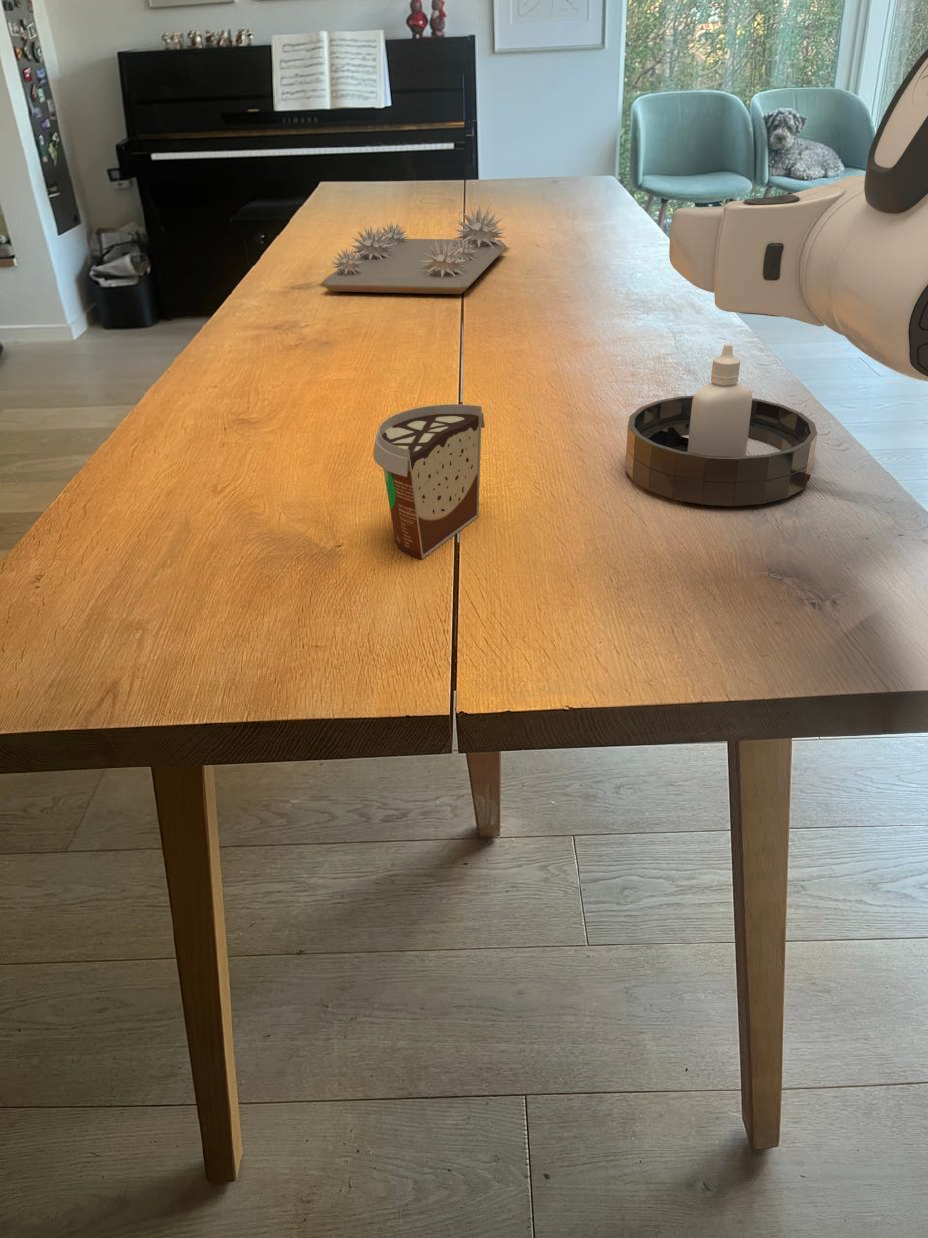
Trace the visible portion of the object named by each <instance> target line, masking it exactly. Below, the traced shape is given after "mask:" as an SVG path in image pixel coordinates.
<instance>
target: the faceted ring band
mask: <svg viewBox="0 0 928 1238" xmlns="http://www.w3.org/2000/svg"><path fill="white" fill-rule="evenodd" d="M693 397H694V395H680V396H674V397H669V398H665V399H660V400H655V401H653V402H650V403H648V404H645V405H642V406H640V407H638V408H637V409H636V410H635V411H634V412H632V414H630V415H629V416H628V422H627V430H626V431H627V433H626V450H625V451H626V452H625V466H624V468H625V469H624V470H625V471H626V473H627V474H628V476H629V477H630V479H631V481H632V482H634V483H636V484H637V485H639V486H640V487H642V488H644V489H645V490H647V491H649V492H651V493H654V494H656V495H659V496H663V497H665V498H669V499H671V500H676V501H681V502H686V503H691V504H692V503H693V504H697V505H704V506H719V507H720V506H721V507H723V506H724V507H739V506H753V505H763V504H764V505H765V504H768V503H773V502H777V501H780V500H785V499H787V498H789V497H791V496H793V495H795V494H797V493H798V492H799V493H800V491H802V490H805V489H804V488H805V487H806V486H807V484H808V482H809V481H810V479H811V478H812V477H811V476H812V475H811V474H810V472H811V471H812V470H813V463H814V458H815V452H816V445H817V439H818V429H817V426H816V424H815V422H814V421H813V420H811V419H810V418H809V417H808V416H806V415H805V414H804V413H803V412H801V411H798V410H796V409H794V408H791V407H789V406H786V405H784V404H780V403H776V402H773V401H770V400H769V401H768V400H765V399H760V398H754V397H752V405H751V415H750V423H749V432H748V439H750V440H753V441H757V442H759V443H760V442H761V443H765V444H767V445H769V446H772V447H773V448H775V449H778V450H779V451H775V452H771V453H767V454H753V455H746V456H739V457H732V456H710V455H702V454H696V453H690V452H687V451H688V440H689V437H684V436H689V430H690V419H691V410H692V401H693Z"/></svg>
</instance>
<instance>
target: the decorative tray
mask: <svg viewBox="0 0 928 1238" xmlns="http://www.w3.org/2000/svg"><path fill="white" fill-rule="evenodd" d="M480 206H481V205H478V210H476V214H475V213H474V211H473V208H470V212H471V216H470V215H469V214H468V213H464V212H462V213H463V215H464V219H465V220H466V222H467V223H466V222H463V221H461V220H458V219H456V221H457V224H459V225H460V226H461V227H462V229H459V228H458V229H455V231H457V232H458V233H457V235H458V236H457V237H454V238H452V239H451V238H409V237H410V236H407V235H406V234H405V233H406V232H407V231H408V230H407V229H405V230H404V229H403V225H402V226H401V227H400V225H399V222H397V223H396V225H395V226H394V225H393V222H391V224H390V225H389V224H386V228H385V227H384V226H381V228H380V226H378V228H377V229H376V230H375V229H373V228H372V226H369V227H370V228H369V229H367V228H366V227H365V226H363V229H364V234H365V235H364V234H362V232H360V231H358V230H356V232H357V233H358V235H359V237H360V239H359V238H356V237H353V236H352V237H351V238H352V239H353V240H354V241H355V242H356V243H358V244H350V245H349V246H350V247H351V248H352V249H351V250H349V251H348V247H345V250H344V249H343V248H341V253H342V255H341V254H340V253H339V252H336V254H337V255H338V257H336V256H334V255H333V256H332V257H333V258H334V259H335V260H336V261H332V262H331V263H332V264H333V265H334V266H333V267H332V269H335V271H334V272H332V273H330V274H329V275H328V276H327V277H326V278H325V279H324V280H323V281H322V282H321V285H322V286H323V287H324V288H325V289H326V290H328V291H329V292H343V293H347V292H349V293H350V292H351V293H389V294H390V293H394V294H396V293H398V294H433V295H434V294H435V295H436V294H437V295H462V294H463V293H464V292H465V291H466V290H467V289H468V288H469V287H470V286H471V285H472V284H473V283H474V282H475V281H476V280H477V279H478V278H479V277H480V276H481V275H482V274H483V273H484V271H485V270H486V269H487V268H488V267H490V265H491V264H493V262H494V261H495V260H496V259H497V258H498V257H499V256H500V255H501V253H502V252H503V251H505V249H506V248H507V245H506V244H505V243H504V242H503V241H502V240H501V239H505V238H506V237H505V236H502V234H504V232H501V231H504V230H505V228H499V226H498V224H499V223H500V222H501V221H502V220H503V218H501V219H498V218H499V216H497V217H496V215H497V211H496V212H495V213H494V214H493V215H492V216H490V211H491V209H490V206H488V207H487V209H486V211H485V212H484V215H483V213H482V212H483V211H481V207H480ZM489 216H490V218H489ZM497 219H498V220H497ZM382 230H383V232H382Z"/></svg>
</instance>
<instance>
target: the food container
mask: <svg viewBox="0 0 928 1238" xmlns="http://www.w3.org/2000/svg"><path fill="white" fill-rule="evenodd" d="M482 409H483V407H482V406H481V405H475V404H460V403H448V404H447V403H446V404H445V403H444V404H433V405H426V406H420V407H414V408H411V409H407V410H404V411H401V412H397V413H396V414H393V415H391V416H389V417H388V418H386V419H384V420H383V421H382V422H381V423H380V425H379V427H378V431H377V433H376V434H375V440H374V446H373V455H372V456H373V460H374V461H375V463H376V464H377V465H378V466H379V467H381V468H382V470H383V474H384V475H383V476H384V482H385V487H386V493H387V499H388V505H389V511H390V517H391V523H392V531H393V535H394V541H395V544H396V547H398V549H399V550H400V551H401V552H403V553H404V554H407V555H408V556H410V557H413V558H415V559H419V560H424V559H425V558H427V557H428V556H429V555H430V554H431V553H433V552H434V551H436V550H437V549H438V548H440V547H441V546H442V545H444V544H445V543H446V542H448V541H449V540H450V539H451V538H453V537H455V535H457V534H458V533H460V532H461V531H462V530H464V529H465V528H466V527H467V526H469V525H470V524H471V523H473V522H474V521H475V520H477V519H478V518H479V517H480V488H481V487H480V484H481V483H480V482H481V455H482V453H481V451H482V429H485V428H486V423H485V417H484V412H483V410H482Z"/></svg>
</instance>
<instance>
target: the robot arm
mask: <svg viewBox="0 0 928 1238" xmlns="http://www.w3.org/2000/svg"><path fill="white" fill-rule="evenodd" d="M866 162H867V163H866V168H865V174H856V175H855V174H854V175H851V176H850V175H849V176H847V177H843V178H840V179H838V180H835V181H833V182H831V183H826V184H821V185H817V186H813V187H810V188H807V189H804V190H800V191H797V192H793V193H789V194H788V193H785V194H779V195H773V196H766V197H765V196H764V197H755V198H746V199H744V200H733V201H728V202H727V203H726V204H725V205H723V206H698V207H697V206H685V207H680V208H677V209H676V210H675V211H674V212H673V214H672V217H671V223H670V232H669V246H668V247H669V249H668V250H669V251H668V253H669V255H668V256H669V262H670V265H671V266H672V268H673V269H674V270H675V271H676V272H677V273H678V274H679V275H680V276H681V277H682V278H683V279H685V280H686V282H688V283H690V284H691V285H692V286H694V287H695V288H698V289H700V290H703V291H705V292H709V293H713V295H714V298H713V299H714V305H715V306H716V308H717V309H718V310H721V311H723V312H726V313H739V314H743V315H757V316H767V317H776V318H786V319H792V320H795V321H798V322H802V323H806V324H809V325H812V326H816V327H824V326H826V327H827V328H828V329H830V330H831V331H832V332H834V333H836V334H837V335H841V336H843V337H845V338H846V339H847V341H848V342H849V343H851V344H852V346H854V347H855V348H857V350H859V351H860V352H862V353H863V354H864V355H866V356H867V357H869V358H871V359H872V360H874V361H875V362H877V363H879V364H881V365H882V366H885V367H886V368H888V369H890V370H891V371H894V372H895V373H898V374H900V375H903V376H906V377H908V378H911V379H913V380H918V381H922V382H928V48H927V49H926V50H925V51H924V52H923V53H922V54H921V56H920V57H919V58H918V59H917V60H916V62H915V63H914V64H913V66H912V68H910V70H909V72H908V73H907V75H906V76H905V78H904V79H903V81H902V82H901V84H900V85H899V87H898V89H897V90H896V92H895V93H894V94H893V97H892V98H891V100H890V103H889V104H888V106H887V108H886V110H885V112H884V114H883V116H882V118H881V121H880V123H879V125H878V127H877V129H876V132H875V134H874V136H873V139H872V142H871V146H870V148H869V151H868V155H867V161H866Z"/></svg>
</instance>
